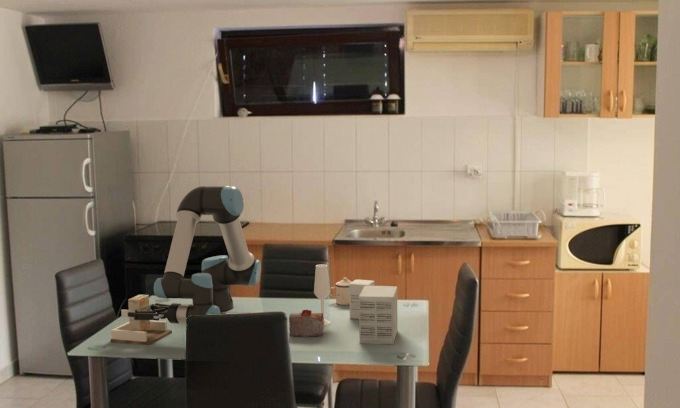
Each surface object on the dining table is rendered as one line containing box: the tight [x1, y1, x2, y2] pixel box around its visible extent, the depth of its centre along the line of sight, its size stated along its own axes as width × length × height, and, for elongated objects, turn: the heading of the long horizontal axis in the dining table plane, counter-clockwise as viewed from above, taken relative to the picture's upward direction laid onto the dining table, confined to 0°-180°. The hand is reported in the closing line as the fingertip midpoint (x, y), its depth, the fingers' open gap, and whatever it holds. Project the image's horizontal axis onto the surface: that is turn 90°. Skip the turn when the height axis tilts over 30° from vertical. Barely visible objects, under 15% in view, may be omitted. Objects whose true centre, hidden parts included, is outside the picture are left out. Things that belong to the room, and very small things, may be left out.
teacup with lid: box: [329, 277, 353, 306], centre depth 315 cm, size 12×9×12 cm
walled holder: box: [110, 320, 173, 346], centre depth 269 cm, size 17×16×4 cm
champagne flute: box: [313, 263, 331, 326], centre depth 283 cm, size 7×7×24 cm
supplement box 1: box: [127, 294, 150, 331], centre depth 268 cm, size 8×5×13 cm, turn 168°
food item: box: [288, 309, 325, 338], centre depth 268 cm, size 14×8×10 cm, turn 89°
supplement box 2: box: [348, 279, 376, 320], centre depth 292 cm, size 9×9×15 cm
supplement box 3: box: [358, 285, 398, 345], centre depth 263 cm, size 17×13×18 cm
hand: (129, 310), depth 269 cm, fingers closed on supplement box 1, 8 cm apart
